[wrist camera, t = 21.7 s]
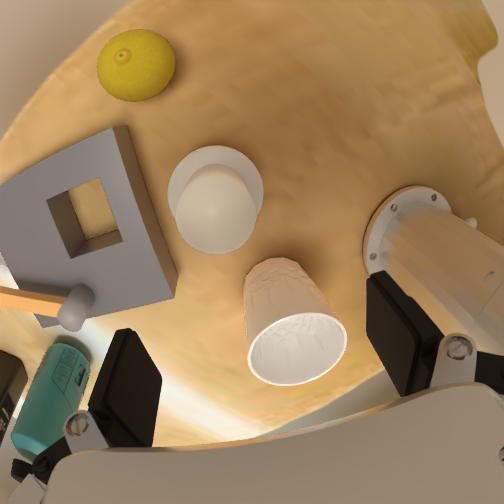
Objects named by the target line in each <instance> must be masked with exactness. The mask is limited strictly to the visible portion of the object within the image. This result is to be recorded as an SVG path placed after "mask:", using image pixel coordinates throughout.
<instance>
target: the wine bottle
mask: <svg viewBox="0 0 504 504" xmlns="http://www.w3.org/2000/svg"><path fill="white" fill-rule="evenodd" d="M27 381H28V379H27V376H26V373H25V370H24V367H23V364H22V362H21V361H20V360H19V359H17V358H15V357H13V356H11V355H8V354H6V353H4V352H1V351H0V446H1V444H2V441H3V438H4V435H5V433H6V430H7V427H8V425H9V422H10V420H11V417H12V415H13V413H14V410H15V408H16V406H17V403H18V401H19V399H20V396H21V394H22V392H23V390H24V388H25V386H26V383H27Z"/></svg>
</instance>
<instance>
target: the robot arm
mask: <svg viewBox="0 0 504 504" xmlns="http://www.w3.org/2000/svg"><path fill="white" fill-rule="evenodd" d="M476 227H477V222H476V219H475V218H473V217H471V218H468V219H465V220H462V219H461V218H459V217H457V216H455V215H453V214H452V210H451V208H450V206H449V203H448V202H447V200H446V199H445V198H444V196H442V195H441V194H440V193H439V192H437V191H435V190H433V189H431V188H429V187H425V186H417V185H414V186H409V187H405V188H403V189H401V190H399V191H397V192H395V193H394V194H392V195H391V196H390V197H388V198H387V199H386V200H385V201H384V202H383V203H382V204H381V205H380V207H379V208H378V209H377V211H376V212H375V214H374V215H373V217H372V219H371V221H370V223H369V225H368V228H367V231H366V234H365V237H364V243H363V260H364V265H365V268H366V270H367V272H368V274H369V276H370V278H368V279H367V281H366V287H367V312H366V332H367V336H368V338H369V340H370V342H371V344H372V345H373V347H374V349H375V351H376V352H377V354H378V356H379V358H380V360H381V361H382V363H383V365H384V367H385V369H386V370H387V372H388V374H389V376H390V378H391V380H392V382H393V384H394V385H395V387H396V389H397V391H398V393H399V395H400V396H401V397H403V398H400V399H398V400H395V401H392V402H389V403H387V404H384V405H381V406H378V407H375V408H372V409H369V410H366V411H363V412H360V413H356V414H353V415H350V416H347V417H343V418H340V419H337V420H334V421H329V422H326V423H322V424H318V425H314V426H310V427H306V428H302V429H298V430H293V431H289V432H284V433H278V434H273V435H268V436H263V437H257V438H250V439H244V440H237V441H230V442H221V443H212V444H202V445H190V446H174V447H152V444H153V437H154V430H155V423H156V417H157V410H158V404H159V398H160V392H161V386H162V376H161V374H160V372H159V371H158V369H157V367H156V366H155V364H154V362H153V361H152V359H151V357H150V356H149V354H148V352H147V350H146V349H145V347H144V345H143V343H142V342H141V340H140V338H139V336H138V334H137V333H136V332H135V331H132V329H130V328H126V329H120V330H117V331H116V332H115V334H114V337H113V339H112V342H111V344H110V347H109V349H108V352H107V354H106V357H105V359H104V362H103V364H102V367H101V369H100V372H99V375H98V377H97V380H96V383H95V385H94V388H93V391H92V394H91V397H90V399H89V402H88V406H89V409H88V411H86V410H79V411H76V412H73V413H72V414H71V415H69V416H68V418H67V419H66V420H65V423H64V425H63V432H64V435H65V436H63V437H62V438H60V439H59V440H58V441H56V442H55V443H54V444H52V445H51V446H49V447H48V448H47V449H45V450H44V451H42V452H41V453H40V454H38V455H37V456H36V458H35V459H34V461H33V464H32V471H33V474H32V475H31V474H30V473H29V474H28V475H27V476H26V478H25V479H24V480H23V481H22V483H21V484H20V485H19V486H18V488H17V489H16V490H15V491H14V493H13V494H12V495H11V496H10V498H9V500H8V503H7V504H504V247H503V246H502V245H500V244H499V243H497V242H496V241H494V240H492V239H491V238H489V237H488V236H486V235H484V234H483V233H481V232H480V231H478V230H476V229H475V228H476ZM404 396H405V397H404Z"/></svg>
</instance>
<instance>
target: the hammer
mask: <svg viewBox="0 0 504 504" xmlns="http://www.w3.org/2000/svg"><path fill="white" fill-rule="evenodd" d="M94 301H95V296H94V293H93V292H92V290H91V289H90V288H88V287H87V286H85V285H81V284H79V285H76V286H74V288H73V289H72V291H71V292H70V294H69V295H68V297H67V298H65V297H59V296H52V295H46V294H40V293H34V292H28V291H23V290H17V289H12V288H7V287H2V286H0V306H3V307H8V308H12V309H16V310H21V311H26V312H31V313H35V314H40V315H46V316H51V317H56V318H57V319H58V321H59V323H60V324H61V326H62V327H64V328H65V329H67V330H69V331H73V332H75V331H79V330H80V329H81V327H82V325H83V323H84V321H85V319H86V317H87V315H88V313H89V311H90V309H91V307H92V305H93V303H94Z"/></svg>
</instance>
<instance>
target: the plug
mask: <svg viewBox="0 0 504 504" xmlns="http://www.w3.org/2000/svg"><path fill="white" fill-rule="evenodd" d="M167 197H168V204H169V207H170V210H171V213H172V215H173V216H174V218H175V220H176V224H177V228H178V231H179V233H180V235H181V236H182V238H183V239H184V241H185V242H186V243H187V244H188V245H190V246H191V247H192V248H194V249H195V250H197V251H200V252H202V253H206V254H211V255H219V254H225V253H229V252H232V251H234V250H236V249H238V248H239V247H241V246H242V245H243V244H244V243H245V242H246V241H247V240H248V239H249V237H250V236H251V234H252V232H253V230H254V228H255V224H256V217H257V216H258V214H259V212H260V209H261V207H262V203H263V197H264V188H263V182H262V179H261V176H260V174H259V172H258V170H257V168H256V167H255V165H254V164H253V163H252V162H251V161H250V160H249V158H247V157H246V156H245V155H244V154H243V153H241V152H240V151H238V150H236V149H233V148H231V147H227V146H222V145H211V146H205V147H202V148H199V149H196V150H195V151H193V152H191V153H190V154H188V155H187V156H186V157H185V158H183V159H182V161H181V162H180V163H179V164H178V165H177V167H176V168H175V170H174V171H173V173H172V175H171V178H170V181H169V184H168V194H167Z"/></svg>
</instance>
